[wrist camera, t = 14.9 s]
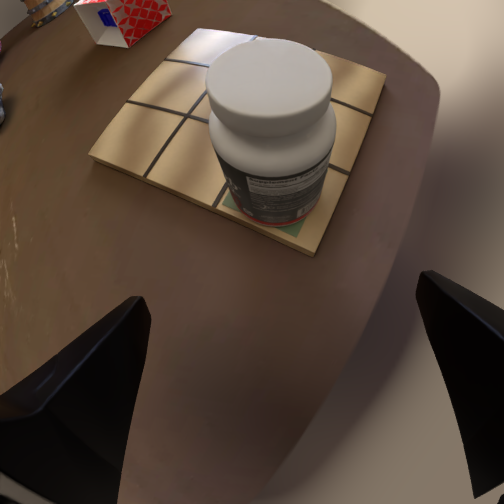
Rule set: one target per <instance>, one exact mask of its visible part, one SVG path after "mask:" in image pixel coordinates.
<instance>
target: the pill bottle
mask: <svg viewBox="0 0 504 504" xmlns="http://www.w3.org/2000/svg"><path fill="white" fill-rule="evenodd" d="M205 84H206V90H207V94H208V97H209V102H210V106H211V109H212V110H211V113H210V118H209V134H210V138H211V142H212V145H213V148H214V150H215V153H216V156H217V158H218V161H219V163H220V166H221V169H222V171H223V174H224V177H225V179H226V182H227V185H228V188H229V190H230V193H231V195H232V198H233V200H234V202H235V204H236V205H237V207H238V208H239V210H240V211H241V212H242V213H243V214H244V215H245V216H246V217H248V218H249V219H251V220H252V221H254V222H256V223H259V224H262V225H266V226H273V227H280V226H287V225H291V224H294V223H296V222H298V221H300V220H302V219H303V218H305V217H306V216H307V215H308V214H309V213H310V212H311V211H312V210H313V209H314V207H315V206H316V204H317V202H318V200H319V198H320V195H321V192H322V188H323V184H324V180H325V177H326V173H327V169H328V165H329V161H330V157H331V153H332V149H333V145H334V142H335V136H336V116H335V112H334V109H333V107H332V105H331V103H330V99H331V92H332V84H333V78H332V72H331V69H330V67H329V65H328V64H327V62H326V61H325V60H324V59H323V57H321V56H320V55H319V54H318V53H317V52H315V51H314V50H312V49H310V48H309V47H307V46H304V45H302V44H299V43H296V42H293V41H288V40H282V39H258V40H252V41H248V42H244V43H241V44H238V45H236V46H234V47H231V48H230V49H228V50H226V51H225V52H223V53H222V54H220V55H219V56H218V57H217V58H216V59H215V60H214V61H213V62H212V64H211V65H210V67H209V69H208V71H207V74H206V79H205Z"/></svg>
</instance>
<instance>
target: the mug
mask: <svg viewBox="0 0 504 504" xmlns="http://www.w3.org/2000/svg"><path fill="white" fill-rule="evenodd" d="M20 1H21V2H24V3H25V4H26V6H27V8H28V12H27V14H29V15H31V16H32V18H33V20H34V21H33V25H32V26H31V27H33V26H36V27H41V26H43V25H45V24H46V23H48V22H50V21H51V20H53V19H54V18H56V17H57V16H58V15H60V14H61V13H62V12H64V11H65V10H66V9H67V8H68V7H69V6H70V5H71V4H72V3H73V1H74V0H20Z"/></svg>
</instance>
